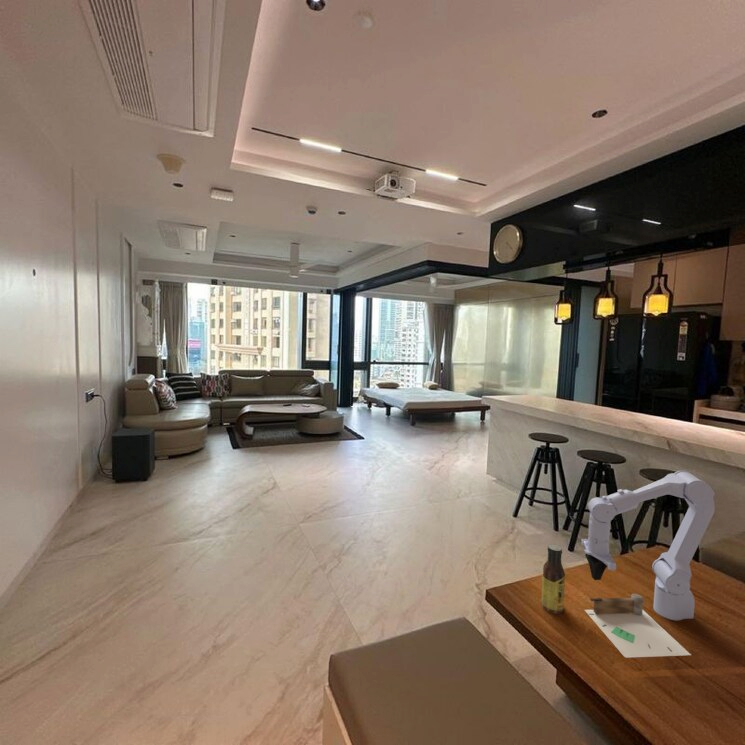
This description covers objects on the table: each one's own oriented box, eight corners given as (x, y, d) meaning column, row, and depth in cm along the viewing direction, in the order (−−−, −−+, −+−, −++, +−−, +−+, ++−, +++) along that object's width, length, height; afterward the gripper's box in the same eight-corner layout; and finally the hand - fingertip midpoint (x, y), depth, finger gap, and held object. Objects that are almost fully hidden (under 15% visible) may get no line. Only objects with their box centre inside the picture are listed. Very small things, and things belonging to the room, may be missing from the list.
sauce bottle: (562, 619, 117) (565, 556, 115) (539, 611, 120) (542, 549, 118) (564, 606, 122) (567, 546, 120) (542, 599, 125) (545, 540, 124)
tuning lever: (637, 607, 120) (638, 593, 119) (644, 614, 117) (645, 600, 116) (586, 609, 119) (587, 595, 118) (592, 616, 116) (593, 601, 115)
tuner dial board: (640, 611, 120) (640, 607, 120) (691, 658, 102) (691, 654, 102) (584, 612, 119) (584, 609, 119) (624, 661, 102) (625, 657, 101)
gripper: (573, 526, 129) (571, 565, 130) (601, 550, 114) (598, 593, 116) (593, 526, 129) (591, 565, 130) (624, 549, 115) (621, 593, 116)
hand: (596, 578), depth 123 cm, fingers closed
